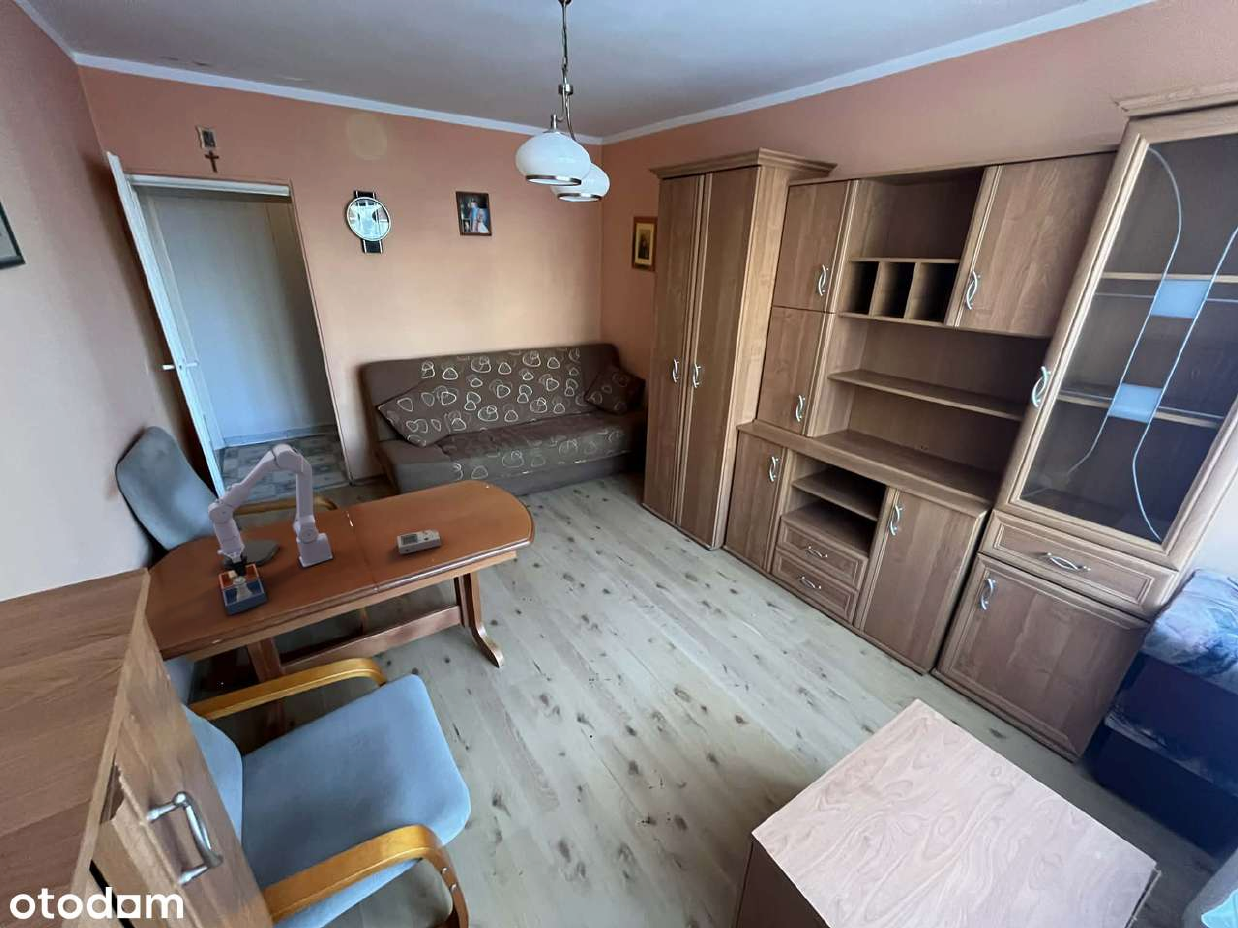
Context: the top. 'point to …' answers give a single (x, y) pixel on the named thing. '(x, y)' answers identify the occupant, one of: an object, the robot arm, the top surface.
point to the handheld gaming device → (418, 541)
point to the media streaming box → (256, 552)
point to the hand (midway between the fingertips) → (241, 570)
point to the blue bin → (249, 602)
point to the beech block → (235, 576)
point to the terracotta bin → (251, 575)
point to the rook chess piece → (242, 589)
